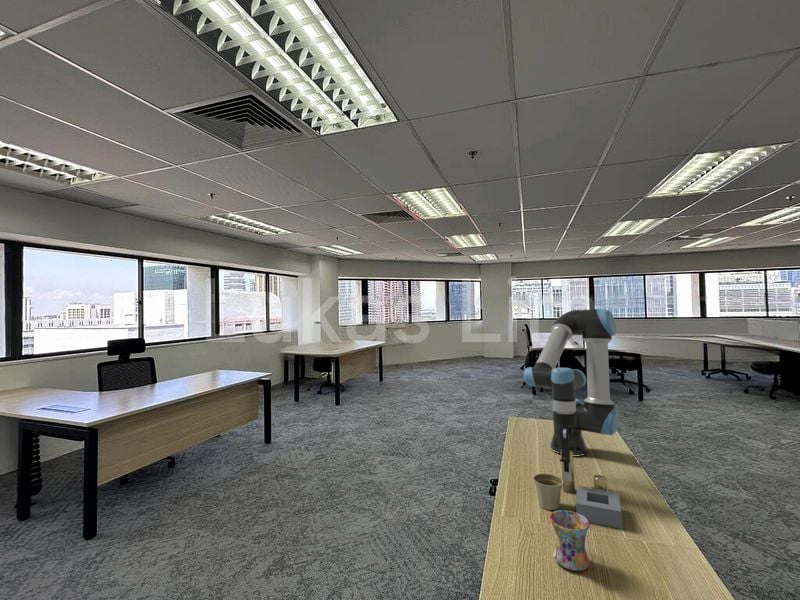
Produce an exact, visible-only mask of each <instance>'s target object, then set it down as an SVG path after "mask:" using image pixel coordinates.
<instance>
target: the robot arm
mask: <svg viewBox="0 0 800 600" xmlns="http://www.w3.org/2000/svg"><path fill="white" fill-rule="evenodd" d="M616 333H617V325H616V321H615V317H614V314H613V313H612V312H611V310H609V309H605V308H603V309H602V308H601V309H600V308H597V309H596V308H595V309H593V308H592V309H575V310H574V309H573V310H570V311H567V312H565V313H564V314H562V315H560V316H559V317H558V318H557V319H556V320H555V321H554V322H553V324H552V326H551V327H550V334H549V336H548V338H547V340H546V342H545V345H544V347H543V348H542V350H541V352H540V354H539V357H538V359H537V360H536V362H535V364H534V366H533V367H532V366H528V367H526V368H525V369H524V372H523V380H524V382H525V384H526V385H527V386H531V387H536V388H537V387H538V388H547V389H552V390H551V391H552V401H551V402H550V404H551V405H552V421H553V422H552V423H553V435H552V439H551V442H550V449H551V448H552V449H553V450H555V451H557V452H559V453H561V454H562V459H561V458H560V459H559V462H562V464H561V472H562V471H563V480H564V481H571V482H572V476H571V462H570V450H572V451H573V455H581V454H585V453H586V452H587V453H588V448H587V445H586V442H585V440H584V438H583V434H582V432H589V433H593V434H594V433H595V434H599V435H606V436H613V435H615V434H616V432H617V431H618V427H619V422H620V409H619V408H617V407H615V403H614V401H613V400H611V396H610V395H611V392H610V370H609V369H610V367H609V365H610V364H609V343H610V342H611V341H612V339H613V338H612V337H614V336H616ZM573 336H581V337H582V338H581V339H582V340H583V341H584V342H585V348H586V350H585V351H586V375H585V373H584V372H583V371H582V370H580V369H578V368H577V369H576V368H574V369H573V368H569V367H557V365H558V363H559V360H560V359H561V356H562V354H563V351H564V350H565V347H566V345H567V343H568V341H569V340H571V339H572V338H573ZM586 384H587V385H586ZM585 385H586V387H587V396H586V398H585V399H584V400H583V403H581V401H580V399H578V398H576V391H578V390H581V389H582V388H584V386H585ZM566 458H567V459H566Z"/></svg>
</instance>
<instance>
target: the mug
mask: <svg viewBox="0 0 800 600" xmlns="http://www.w3.org/2000/svg"><path fill="white" fill-rule="evenodd" d="M549 520H550V522H551V525H552V526H553V527H552V528H553V530H554V534H555V541H556V543H555V549H554V551H553V554H552V555H553V559H554V560H555V561H556V563H557V564H558V565H560V566H561V567H563V568H565V569H567V570H570V571H575V572H580V571H585V570H587V569H588V568H589V567H590V566H591V565H590V564H591V561H590V558H589V557H588V553H587V551H586V536H587V533H588V530H589V528H590V522H589V521H588V520H587V519H586V518H585V517H584V516H582V515H580V514H578V513H576V512H575V511H571V510H566V509H565V510H564V509H560V510H559V509H558V510H554V511H552V512H551V513H550V515H549Z"/></svg>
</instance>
